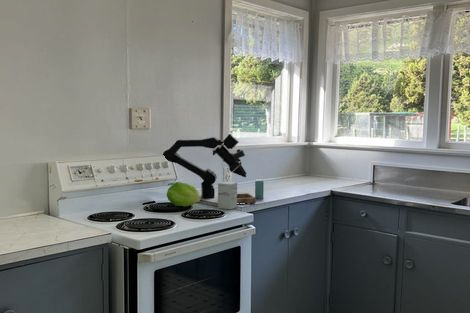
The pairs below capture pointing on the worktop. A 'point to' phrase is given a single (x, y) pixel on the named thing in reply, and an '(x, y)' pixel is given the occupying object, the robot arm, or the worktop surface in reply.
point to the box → (245, 198)
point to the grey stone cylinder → (227, 195)
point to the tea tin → (259, 188)
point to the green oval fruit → (183, 194)
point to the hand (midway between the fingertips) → (245, 175)
